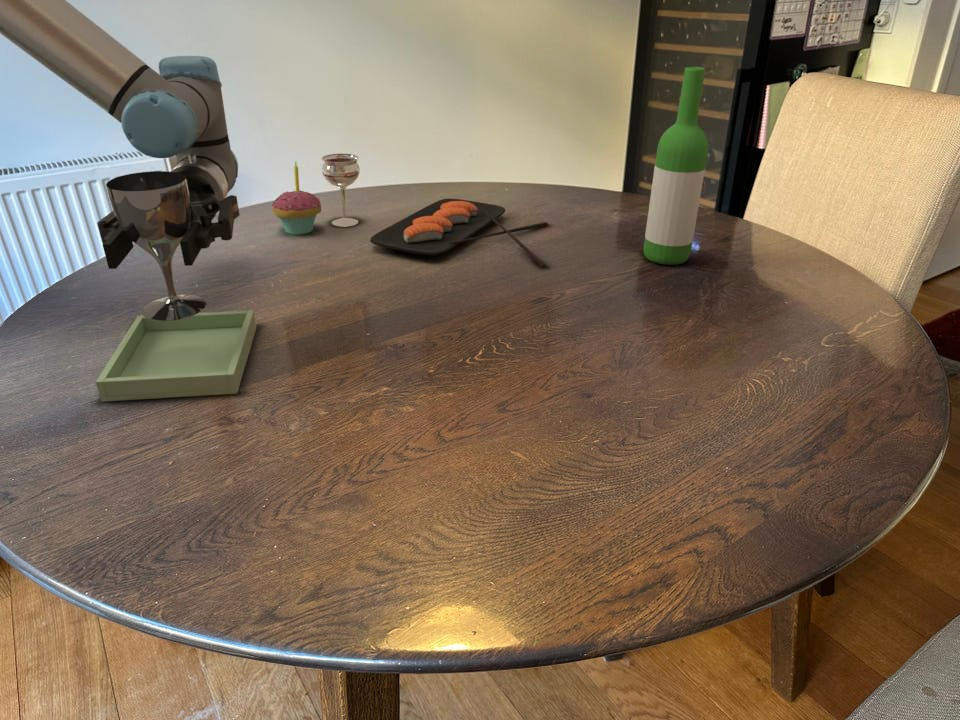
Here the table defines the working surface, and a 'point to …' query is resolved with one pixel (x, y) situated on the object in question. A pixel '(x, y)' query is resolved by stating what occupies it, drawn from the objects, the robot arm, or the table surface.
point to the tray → (179, 357)
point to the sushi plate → (445, 228)
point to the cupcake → (297, 209)
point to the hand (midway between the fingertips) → (148, 255)
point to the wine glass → (156, 230)
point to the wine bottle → (678, 179)
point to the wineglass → (341, 178)
